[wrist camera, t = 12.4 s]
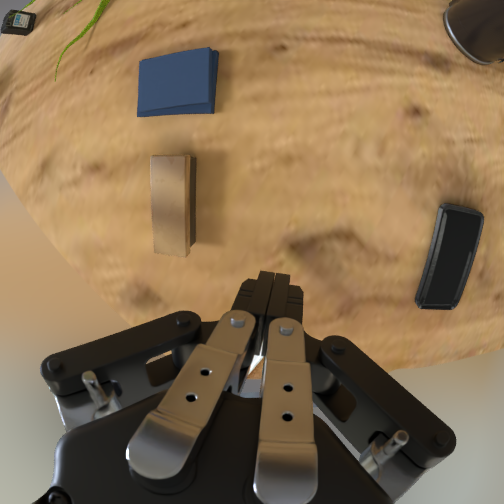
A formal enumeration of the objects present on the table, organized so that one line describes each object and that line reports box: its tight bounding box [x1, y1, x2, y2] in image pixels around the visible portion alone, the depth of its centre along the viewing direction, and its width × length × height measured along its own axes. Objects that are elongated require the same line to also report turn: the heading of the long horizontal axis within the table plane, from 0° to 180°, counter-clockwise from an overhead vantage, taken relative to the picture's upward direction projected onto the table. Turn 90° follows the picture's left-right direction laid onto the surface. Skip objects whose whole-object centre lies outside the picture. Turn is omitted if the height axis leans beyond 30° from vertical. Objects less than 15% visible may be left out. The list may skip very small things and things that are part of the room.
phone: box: [415, 203, 484, 310], centre depth 29 cm, size 8×1×15 cm
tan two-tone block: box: [151, 155, 196, 258], centre depth 32 cm, size 12×4×4 cm, turn 176°
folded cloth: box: [137, 47, 219, 117], centre depth 27 cm, size 8×10×2 cm
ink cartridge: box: [1, 10, 36, 36], centre depth 20 cm, size 5×2×8 cm, turn 0°
